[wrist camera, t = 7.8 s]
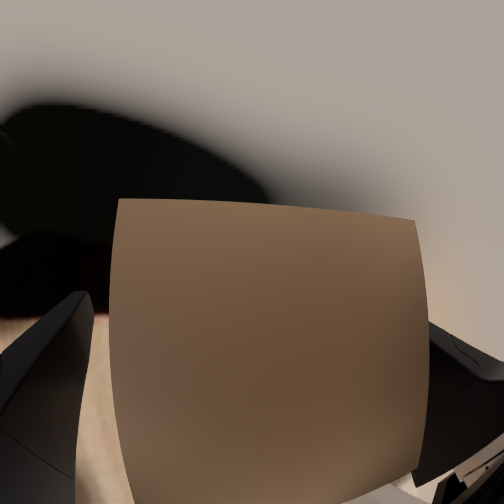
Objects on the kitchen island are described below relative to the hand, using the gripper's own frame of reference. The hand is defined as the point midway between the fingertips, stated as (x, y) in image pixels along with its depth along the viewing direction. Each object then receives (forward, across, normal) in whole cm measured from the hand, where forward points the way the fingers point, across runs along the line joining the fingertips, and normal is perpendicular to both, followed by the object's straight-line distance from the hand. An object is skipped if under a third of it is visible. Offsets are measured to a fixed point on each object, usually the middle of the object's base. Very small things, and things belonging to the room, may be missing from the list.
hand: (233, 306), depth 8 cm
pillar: (+5, 0, +6) cm, 8 cm away
